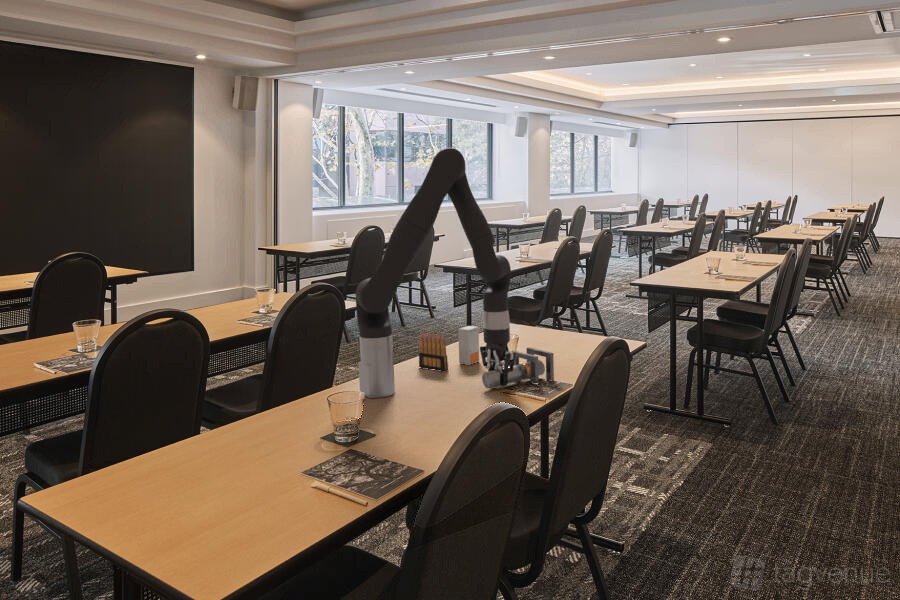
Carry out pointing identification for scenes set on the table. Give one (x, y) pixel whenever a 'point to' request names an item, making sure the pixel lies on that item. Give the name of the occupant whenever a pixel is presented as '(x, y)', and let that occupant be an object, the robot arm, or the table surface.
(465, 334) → the skincare box
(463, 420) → the table surface
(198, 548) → the table surface
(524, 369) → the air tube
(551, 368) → the dark grey rectangular frame
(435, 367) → the ammunition clip
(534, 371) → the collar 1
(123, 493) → the table surface
